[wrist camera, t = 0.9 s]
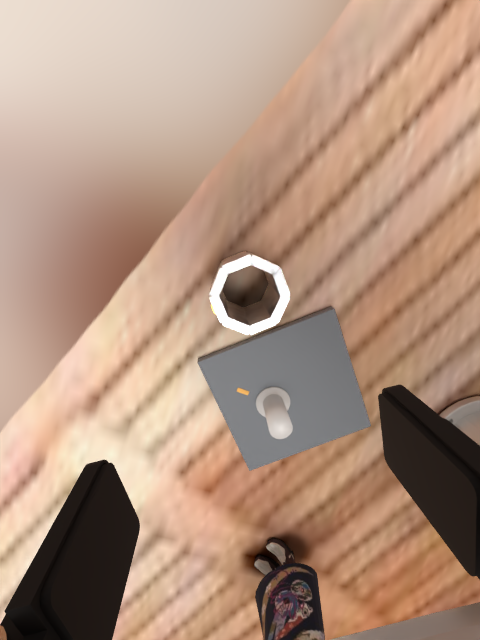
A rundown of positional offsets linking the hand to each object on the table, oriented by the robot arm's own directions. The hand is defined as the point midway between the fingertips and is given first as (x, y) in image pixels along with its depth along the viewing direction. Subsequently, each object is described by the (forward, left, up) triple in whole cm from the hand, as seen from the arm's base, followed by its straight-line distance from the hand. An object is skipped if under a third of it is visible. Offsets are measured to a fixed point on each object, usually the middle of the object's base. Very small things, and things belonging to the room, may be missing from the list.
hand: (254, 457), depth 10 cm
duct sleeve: (-2, -2, -23) cm, 23 cm away
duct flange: (-2, +12, -23) cm, 26 cm away
